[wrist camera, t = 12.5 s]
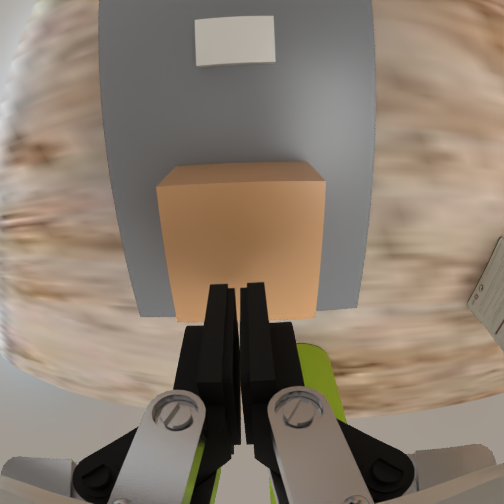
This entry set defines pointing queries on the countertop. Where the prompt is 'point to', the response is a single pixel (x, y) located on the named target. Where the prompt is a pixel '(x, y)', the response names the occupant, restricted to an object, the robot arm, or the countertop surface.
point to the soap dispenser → (318, 381)
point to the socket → (239, 116)
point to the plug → (243, 234)
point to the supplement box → (491, 296)
